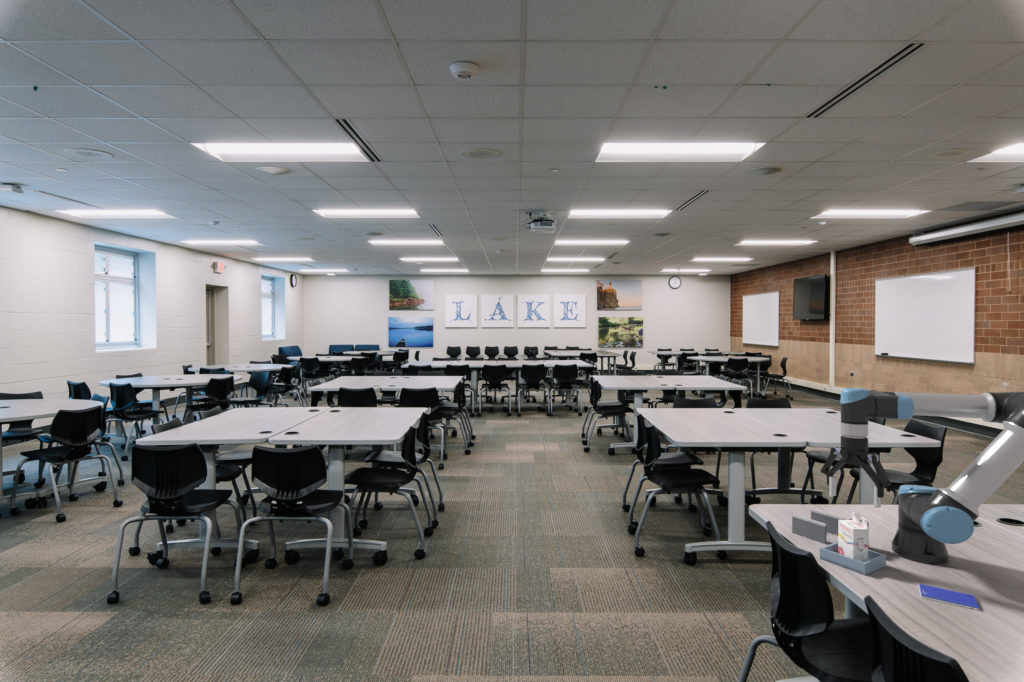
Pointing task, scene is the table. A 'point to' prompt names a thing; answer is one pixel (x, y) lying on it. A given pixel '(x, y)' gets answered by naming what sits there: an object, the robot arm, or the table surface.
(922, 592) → the hard drive
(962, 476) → the robot arm
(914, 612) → the table surface
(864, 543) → the ink cartridge box
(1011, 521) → the table surface
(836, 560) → the tray
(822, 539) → the pair of grey slabs
